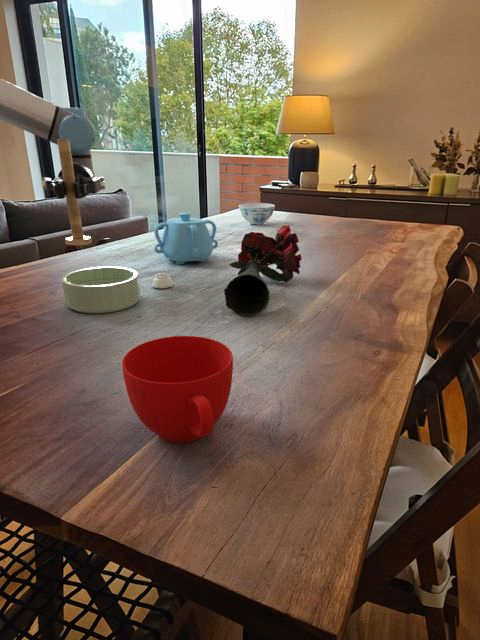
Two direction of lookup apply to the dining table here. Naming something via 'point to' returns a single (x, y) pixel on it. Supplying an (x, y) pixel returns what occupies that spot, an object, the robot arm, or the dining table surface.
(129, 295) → the bowl
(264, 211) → the chinaware
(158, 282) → the white jar
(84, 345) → the dining table surface
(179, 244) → the decorative pot
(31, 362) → the dining table surface
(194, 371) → the ceramic cup
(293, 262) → the red rose bouquet
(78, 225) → the stirrer
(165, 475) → the dining table surface
